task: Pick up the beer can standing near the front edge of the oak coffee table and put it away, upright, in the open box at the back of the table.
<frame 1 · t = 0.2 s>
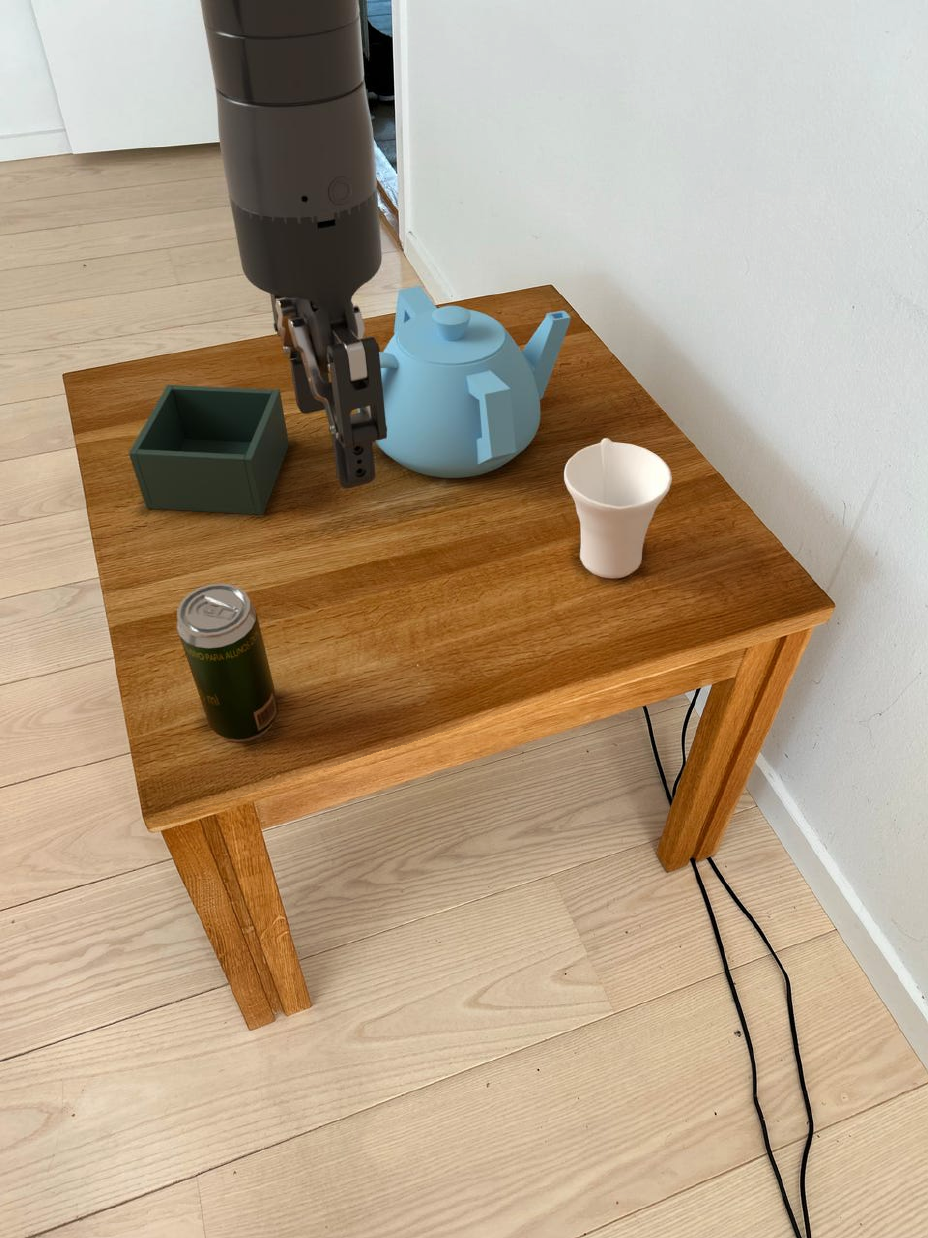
hand: (335, 444, 59), 22 cm above the table, tool pointing down, fingers open, 8 cm apart
cup: (605, 559, 84), on the table
teapot: (458, 435, 97), on the table
open box: (220, 475, 92), on the table
beer can: (245, 718, 71), on the table
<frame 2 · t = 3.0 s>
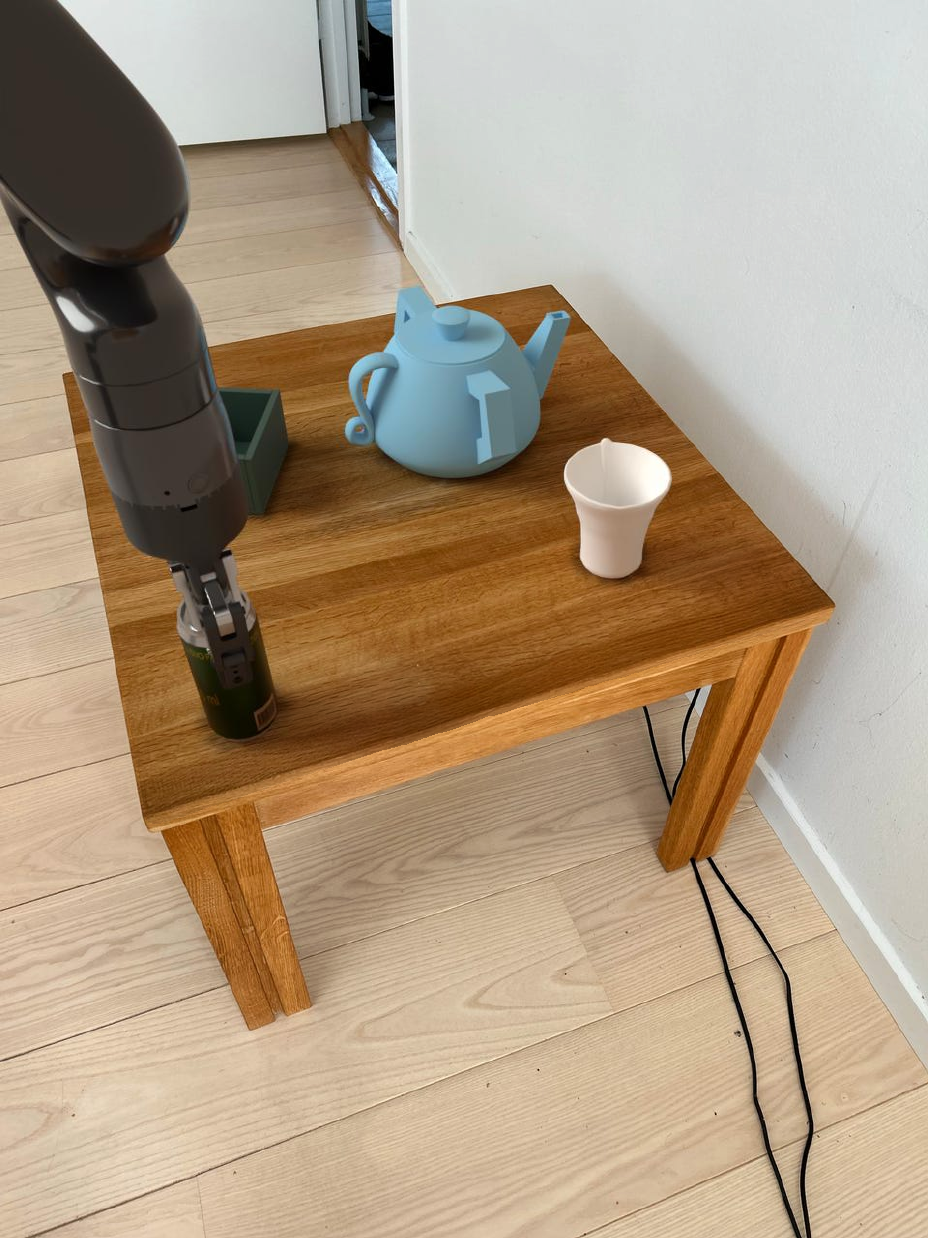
hand: (226, 653, 66), 7 cm above the table, tool pointing down, fingers closed on beer can, 5 cm apart
beer can: (245, 718, 71), on the table, touching gripper
everything else where it was.
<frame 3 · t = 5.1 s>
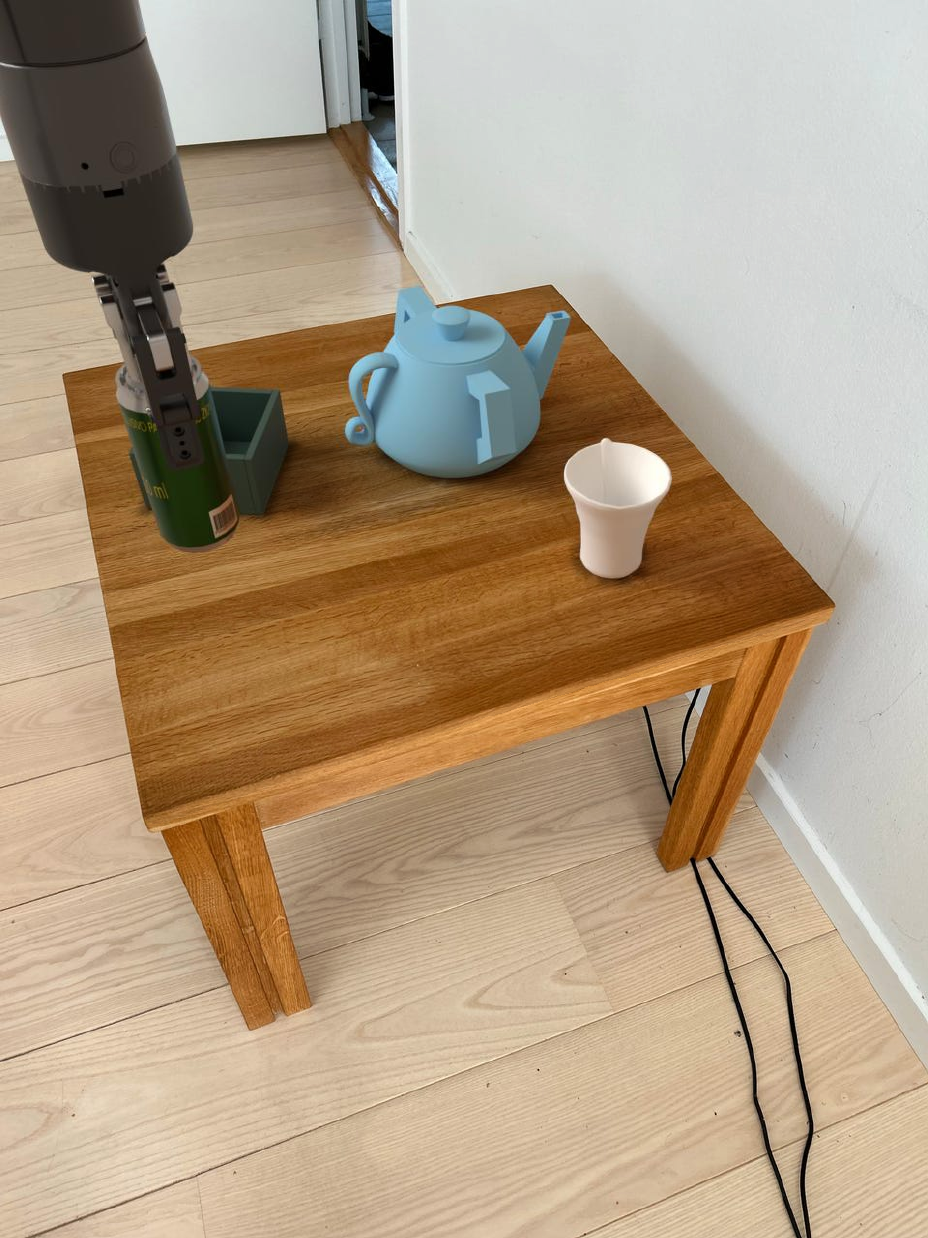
hand: (175, 437, 57), 23 cm above the table, tool pointing down, fingers closed on beer can, 5 cm apart
beer can: (202, 531, 63), point 16 cm above the table, touching gripper
everything else where it was.
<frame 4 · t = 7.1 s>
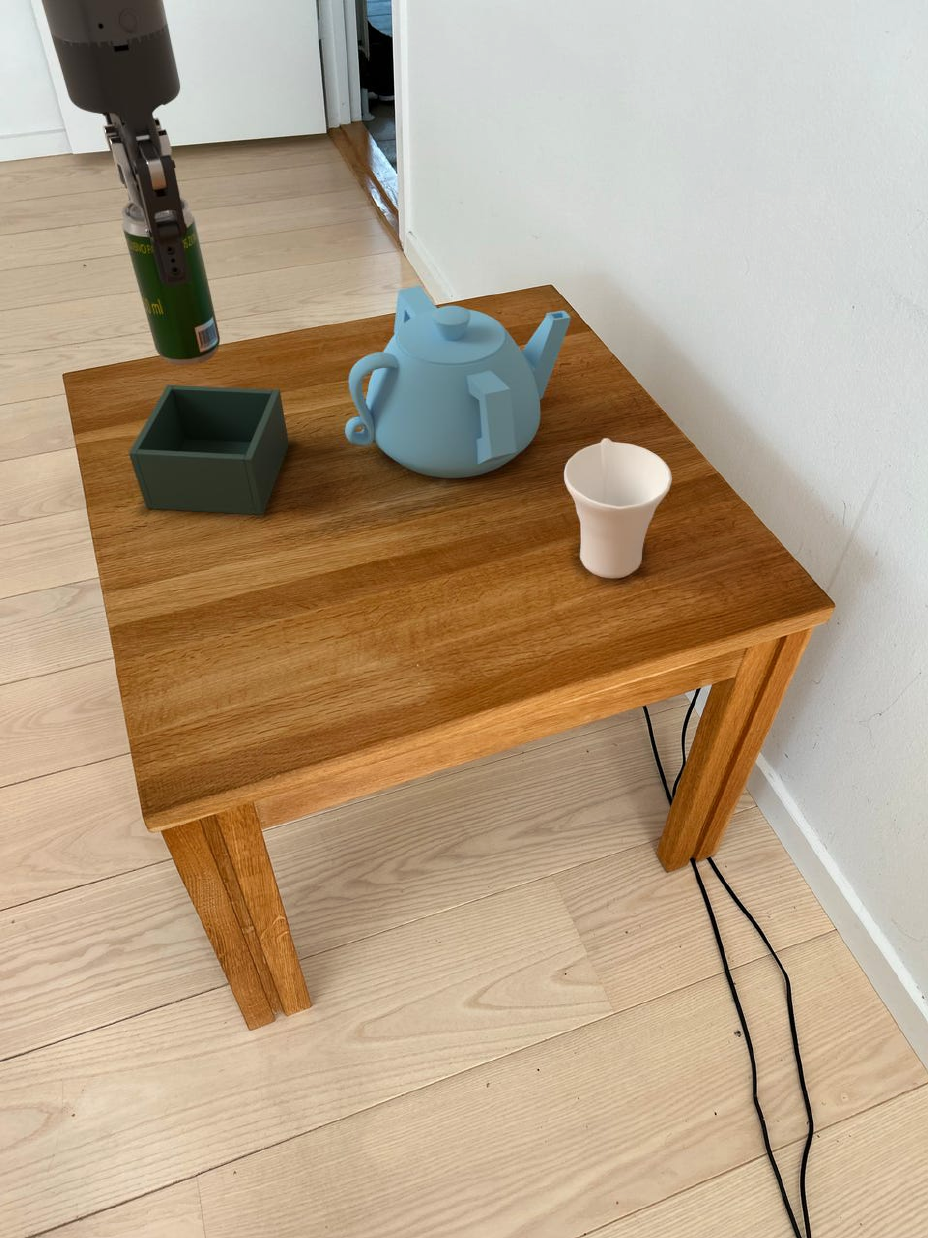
hand: (168, 266, 73), 23 cm above the table, tool pointing down, fingers closed on beer can, 5 cm apart
beer can: (190, 352, 79), point 15 cm above the table, touching gripper
everything else where it was.
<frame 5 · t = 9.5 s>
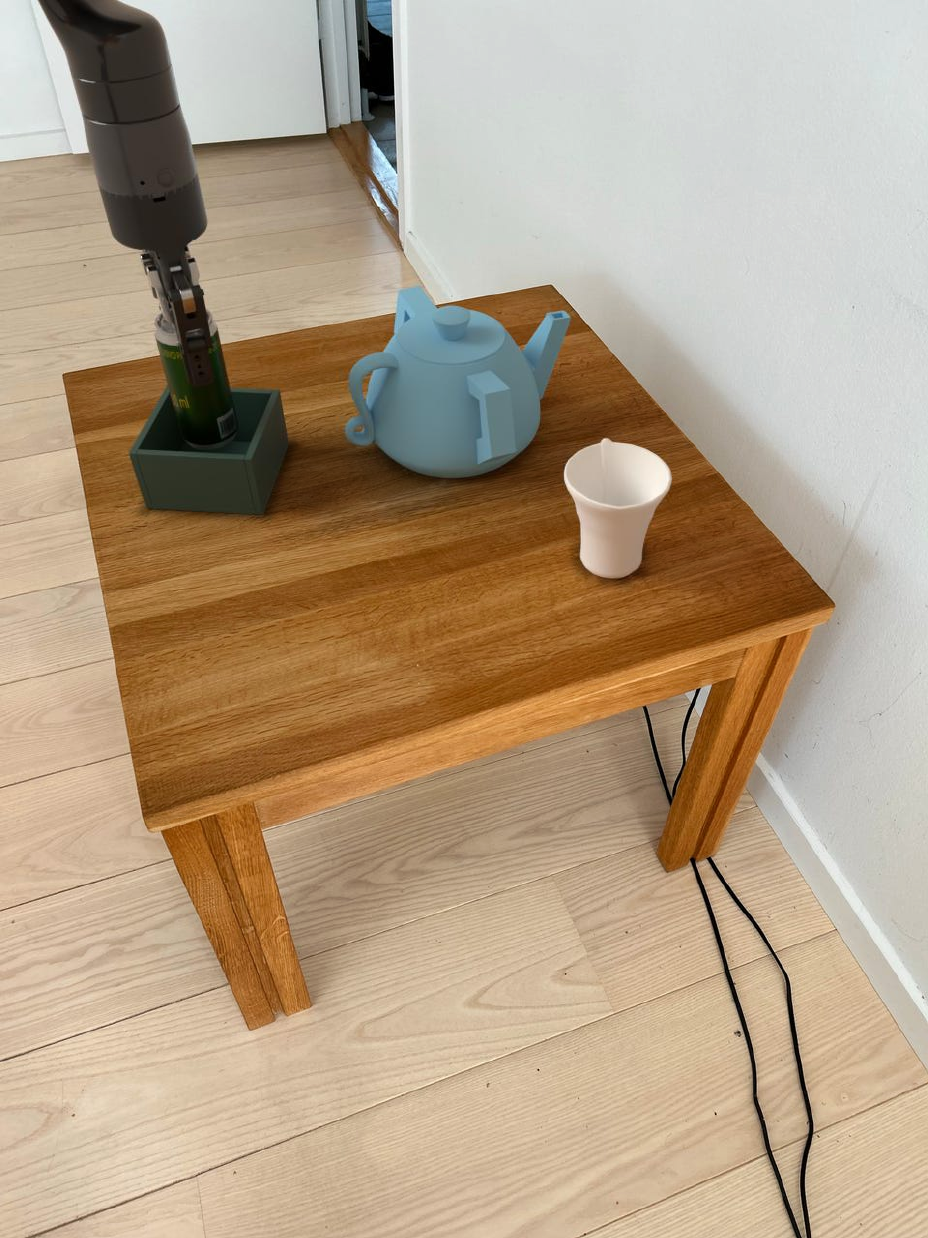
hand: (193, 366, 83), 12 cm above the table, tool pointing down, fingers closed on beer can, 5 cm apart
beer can: (211, 436, 89), point 5 cm above the table, touching gripper
everything else where it was.
when the fingers open (8 cm above the table, at t = 11.2 s): beer can stays where it is, resting on open box.
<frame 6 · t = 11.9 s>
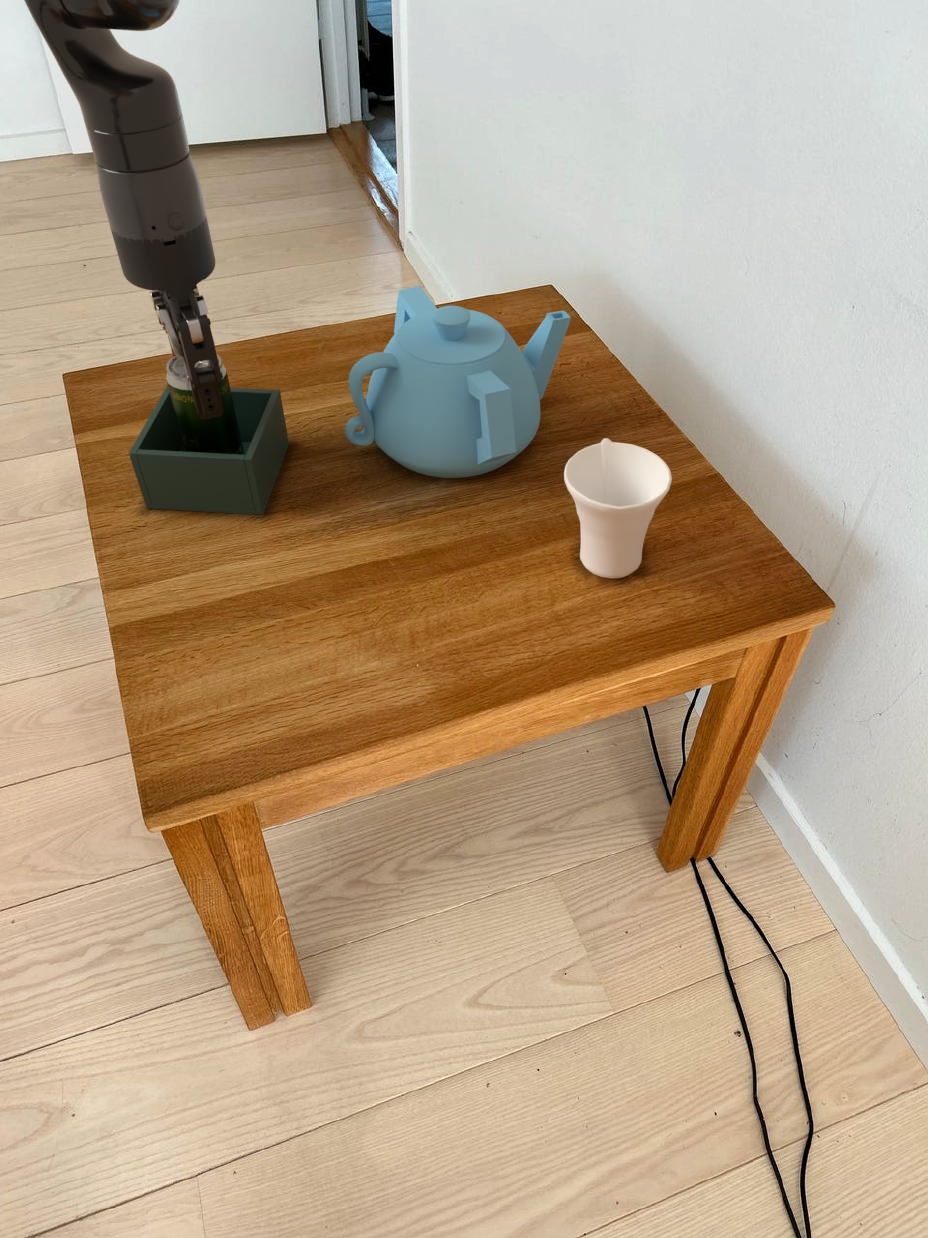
hand: (199, 391, 85), 10 cm above the table, tool pointing down, fingers open, 8 cm apart
beer can: (220, 473, 92), resting on open box
everything else where it was.
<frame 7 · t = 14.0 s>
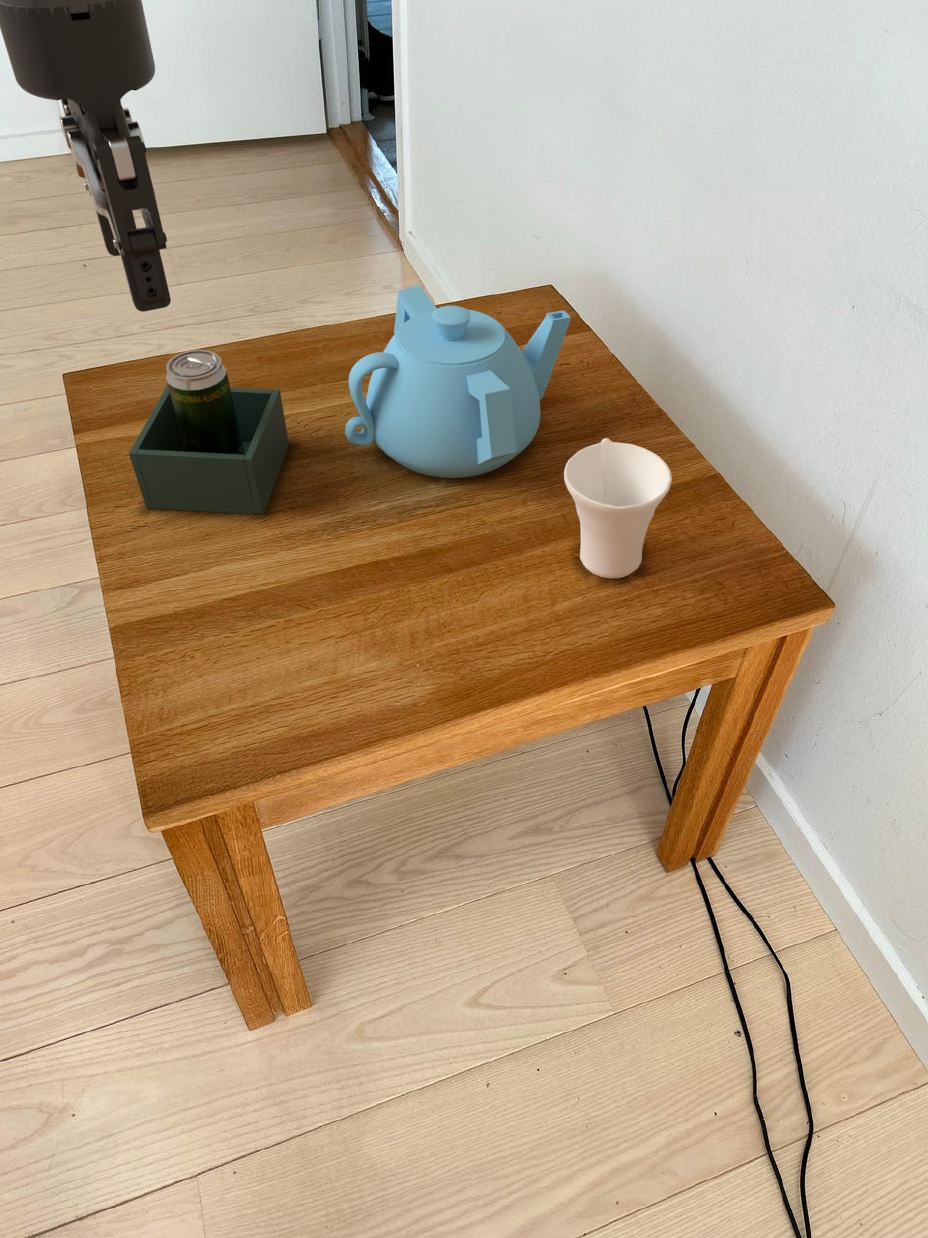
hand: (138, 278, 60), 29 cm above the table, tool pointing down, fingers open, 8 cm apart
nothing on the table moved.
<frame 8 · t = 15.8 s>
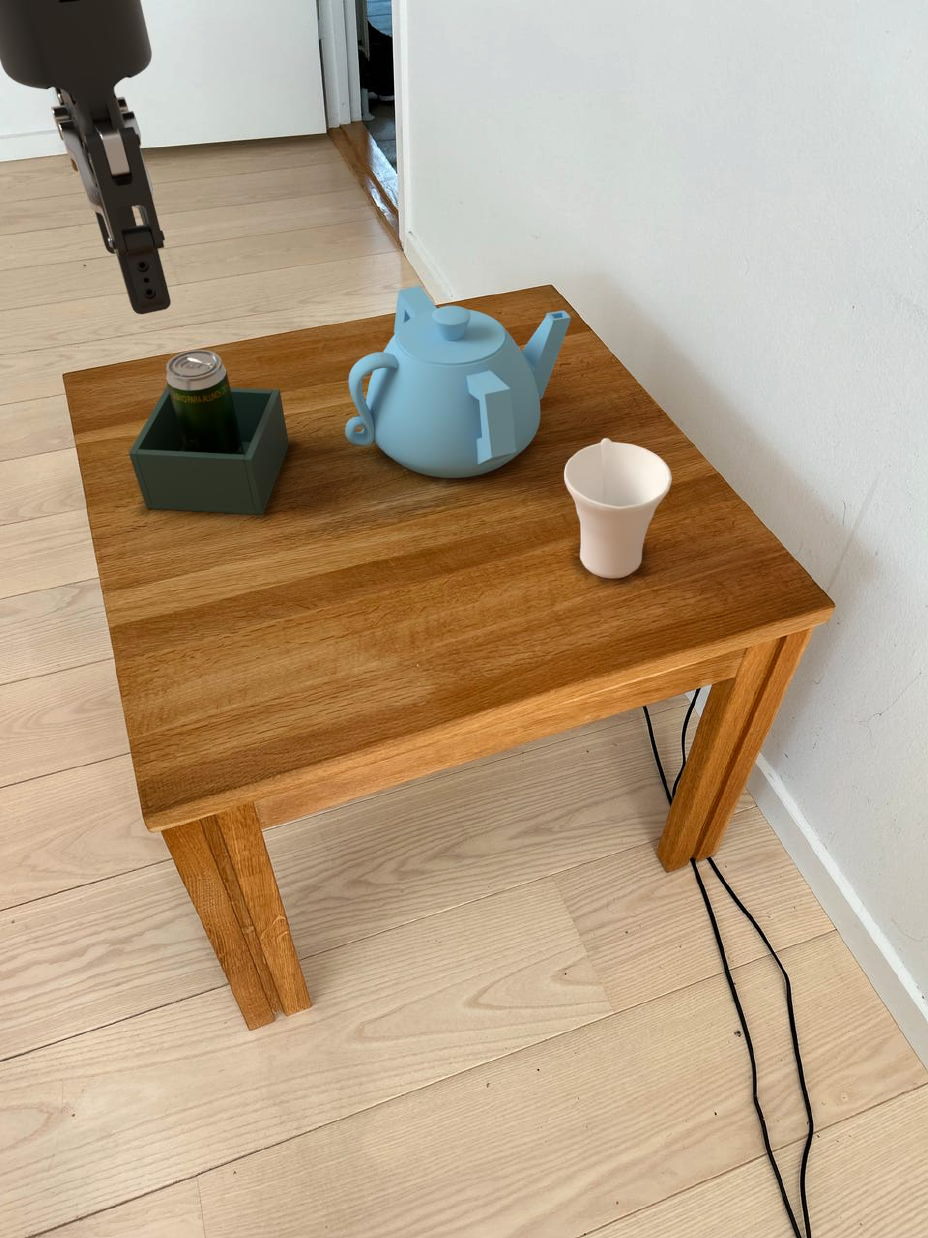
hand: (137, 278, 57), 30 cm above the table, tool pointing down, fingers open, 8 cm apart
nothing on the table moved.
at the end: beer can inside the target area in the open box (0.1 cm from its centre), point 0.3 cm above the open box's base; beer can tilted 0°; the gripper is holding nothing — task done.
